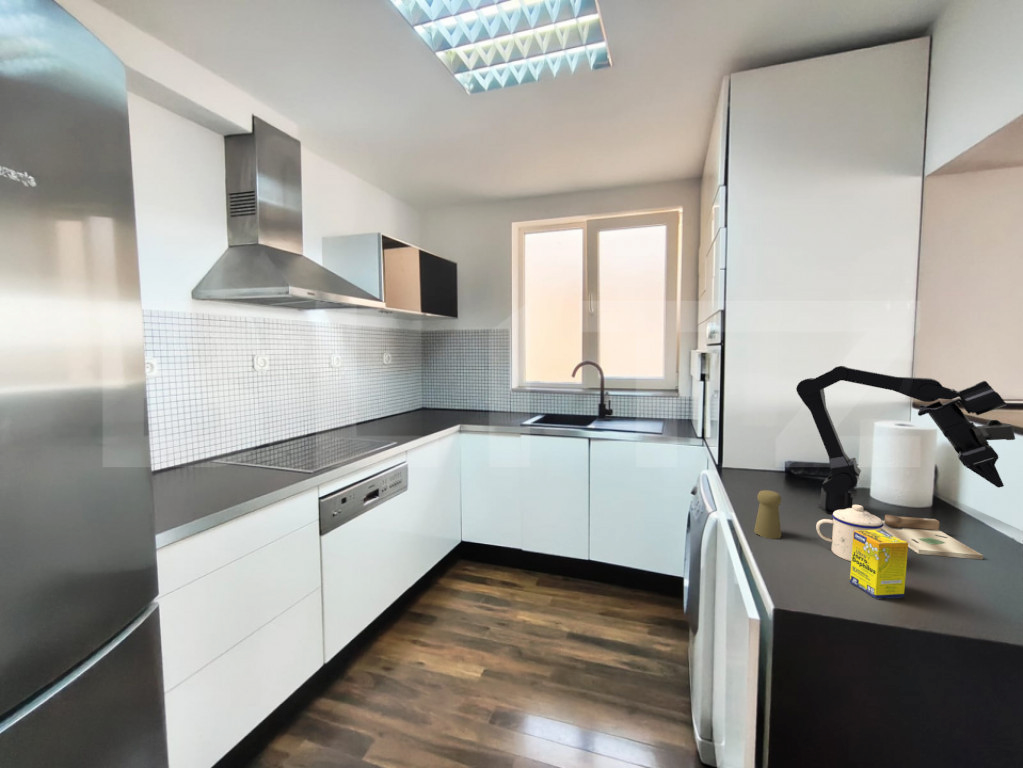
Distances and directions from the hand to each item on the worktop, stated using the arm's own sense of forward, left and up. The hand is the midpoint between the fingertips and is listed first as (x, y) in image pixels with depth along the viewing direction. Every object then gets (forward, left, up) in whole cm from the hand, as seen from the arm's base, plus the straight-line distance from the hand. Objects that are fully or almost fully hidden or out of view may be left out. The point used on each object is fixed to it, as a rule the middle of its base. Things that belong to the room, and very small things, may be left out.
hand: (998, 482), depth 106 cm
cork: (-51, -7, -15) cm, 54 cm away
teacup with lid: (-37, -15, -15) cm, 43 cm away
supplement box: (-39, -31, -15) cm, 52 cm away
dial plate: (-15, -2, -15) cm, 21 cm away
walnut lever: (-15, +3, -13) cm, 21 cm away
